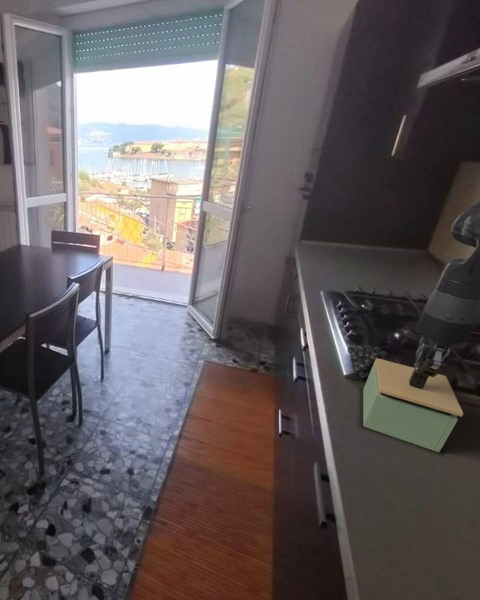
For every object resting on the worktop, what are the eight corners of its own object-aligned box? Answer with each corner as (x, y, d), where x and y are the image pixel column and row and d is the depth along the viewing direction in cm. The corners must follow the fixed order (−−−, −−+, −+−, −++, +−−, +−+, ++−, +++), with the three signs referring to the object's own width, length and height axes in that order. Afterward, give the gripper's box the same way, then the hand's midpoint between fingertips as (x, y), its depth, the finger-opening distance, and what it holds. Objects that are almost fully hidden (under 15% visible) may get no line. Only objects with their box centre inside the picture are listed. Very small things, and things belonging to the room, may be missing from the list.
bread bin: (439, 452, 73) (458, 420, 69) (363, 426, 79) (376, 395, 76) (428, 409, 84) (444, 379, 80) (363, 389, 91) (374, 360, 87)
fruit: (353, 326, 102) (374, 353, 89) (382, 338, 101) (408, 367, 88) (334, 349, 106) (351, 378, 93) (362, 361, 105) (384, 392, 92)
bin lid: (462, 417, 68) (463, 413, 67) (379, 392, 74) (380, 389, 74) (444, 379, 80) (446, 375, 80) (374, 360, 87) (375, 357, 87)
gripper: (486, 333, 62) (444, 410, 69) (469, 306, 71) (434, 376, 79) (429, 321, 66) (394, 395, 73) (420, 297, 75) (390, 364, 83)
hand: (415, 385), depth 76 cm, fingers closed
